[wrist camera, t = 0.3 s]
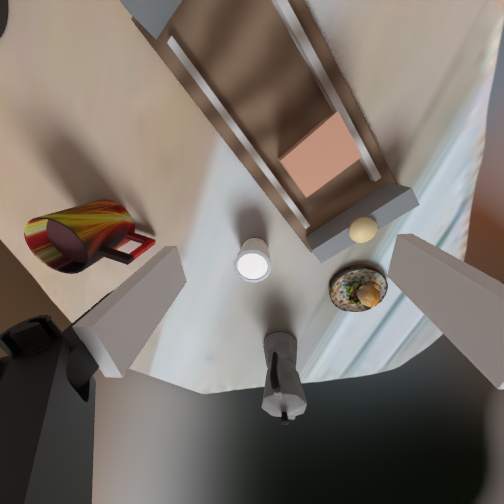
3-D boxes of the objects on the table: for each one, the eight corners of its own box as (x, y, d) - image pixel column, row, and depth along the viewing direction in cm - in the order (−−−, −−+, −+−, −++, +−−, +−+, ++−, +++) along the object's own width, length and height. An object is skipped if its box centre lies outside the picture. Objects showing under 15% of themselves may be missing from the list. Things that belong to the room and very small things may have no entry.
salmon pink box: (277, 158, 32) (280, 160, 25) (321, 121, 29) (338, 111, 22) (298, 188, 34) (306, 197, 27) (341, 155, 31) (362, 156, 24)
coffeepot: (301, 356, 55) (315, 439, 39) (269, 360, 57) (269, 441, 41) (290, 316, 49) (300, 396, 33) (254, 322, 51) (247, 400, 35)
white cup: (251, 228, 39) (248, 242, 33) (277, 247, 41) (279, 265, 34) (232, 252, 42) (226, 269, 36) (257, 269, 43) (255, 289, 37)
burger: (318, 280, 44) (327, 303, 37) (370, 253, 40) (391, 274, 33) (342, 314, 48) (354, 340, 41) (392, 292, 44) (414, 317, 37)
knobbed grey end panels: (135, 12, 26) (96, -30, 20) (222, -136, 20) (203, -253, 15) (315, 249, 39) (323, 266, 33) (396, 198, 34) (423, 208, 28)
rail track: (135, 23, 27) (123, 12, 25) (230, -135, 21) (226, -169, 19) (309, 250, 40) (312, 256, 38) (399, 194, 34) (408, 196, 32)
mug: (159, 241, 42) (122, 271, 31) (101, 245, 44) (47, 275, 33) (144, 195, 38) (95, 212, 27) (80, 201, 39) (10, 219, 29)
